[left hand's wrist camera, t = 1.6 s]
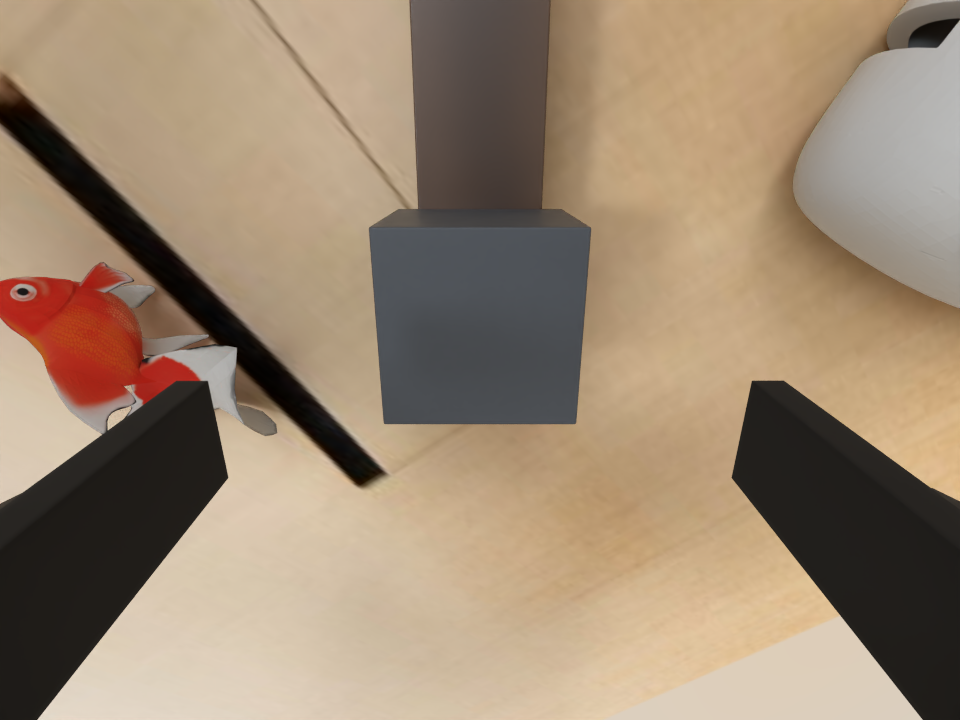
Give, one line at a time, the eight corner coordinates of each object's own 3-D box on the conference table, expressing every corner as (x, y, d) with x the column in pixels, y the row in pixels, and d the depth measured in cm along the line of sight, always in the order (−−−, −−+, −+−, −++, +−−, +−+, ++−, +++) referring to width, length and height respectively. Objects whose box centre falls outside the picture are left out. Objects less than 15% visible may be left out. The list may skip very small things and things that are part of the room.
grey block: (405, 362, 28) (383, 424, 21) (397, 209, 25) (368, 227, 18) (553, 362, 28) (576, 424, 21) (562, 209, 25) (591, 227, 18)
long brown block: (434, 342, 34) (425, 379, 28) (414, -233, 24) (394, -355, 18) (525, 342, 34) (534, 379, 28) (545, -233, 24) (565, -354, 18)
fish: (124, 169, 25) (-6, 322, 19) (337, 349, 36) (295, 484, 30) (19, 242, 30) (-113, 383, 24) (235, 383, 41) (180, 505, 35)
